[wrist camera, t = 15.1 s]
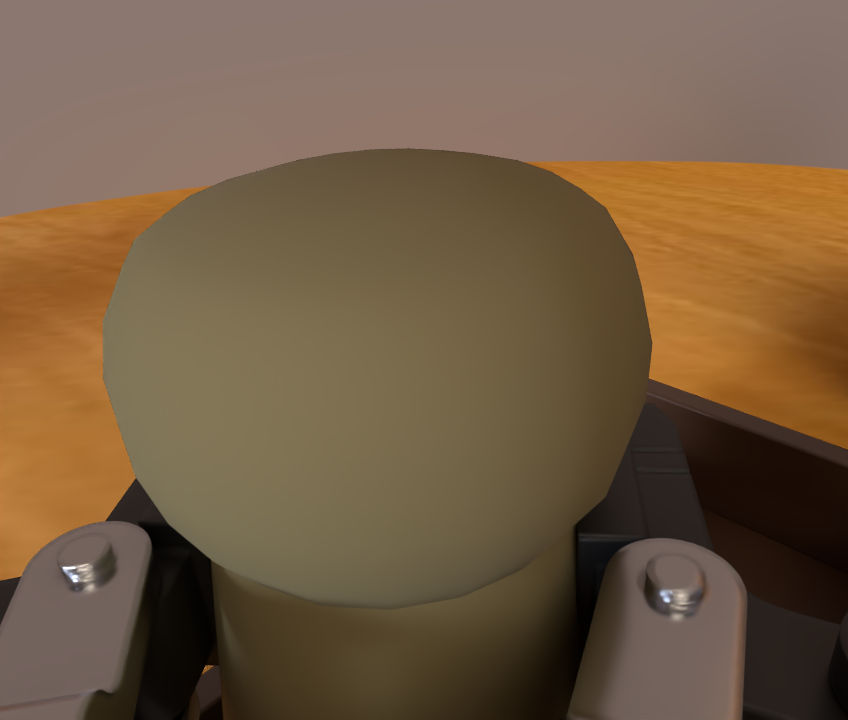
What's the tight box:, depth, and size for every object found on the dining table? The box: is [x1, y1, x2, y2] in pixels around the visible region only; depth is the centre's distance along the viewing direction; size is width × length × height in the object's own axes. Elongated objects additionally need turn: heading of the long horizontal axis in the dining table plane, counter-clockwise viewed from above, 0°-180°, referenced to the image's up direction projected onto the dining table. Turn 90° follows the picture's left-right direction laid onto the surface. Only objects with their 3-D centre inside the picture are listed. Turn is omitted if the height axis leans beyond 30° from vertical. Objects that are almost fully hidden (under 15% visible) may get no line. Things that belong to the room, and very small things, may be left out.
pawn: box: [103, 149, 652, 720], centre depth 10 cm, size 6×6×11 cm
